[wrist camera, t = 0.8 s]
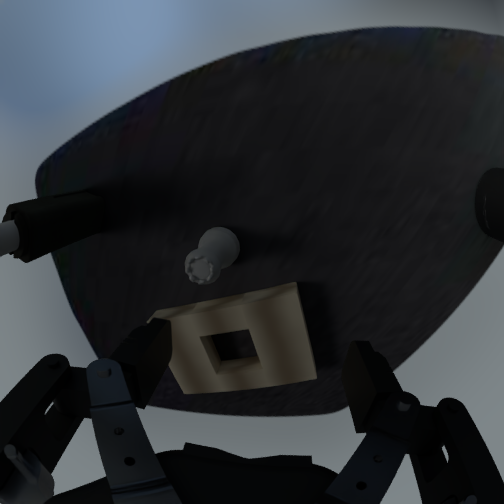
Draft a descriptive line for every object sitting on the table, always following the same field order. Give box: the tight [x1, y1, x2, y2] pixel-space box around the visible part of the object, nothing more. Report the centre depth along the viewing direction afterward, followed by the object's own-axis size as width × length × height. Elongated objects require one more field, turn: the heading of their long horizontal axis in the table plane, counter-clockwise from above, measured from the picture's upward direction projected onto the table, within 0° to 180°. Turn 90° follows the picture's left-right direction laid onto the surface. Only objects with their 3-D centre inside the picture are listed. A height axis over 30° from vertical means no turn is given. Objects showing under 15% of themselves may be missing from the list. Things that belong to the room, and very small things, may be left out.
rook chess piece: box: [185, 227, 240, 284], centre depth 27 cm, size 4×4×8 cm
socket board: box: [147, 282, 317, 394], centre depth 32 cm, size 18×12×3 cm, turn 106°
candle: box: [0, 190, 105, 263], centre depth 20 cm, size 5×5×25 cm
